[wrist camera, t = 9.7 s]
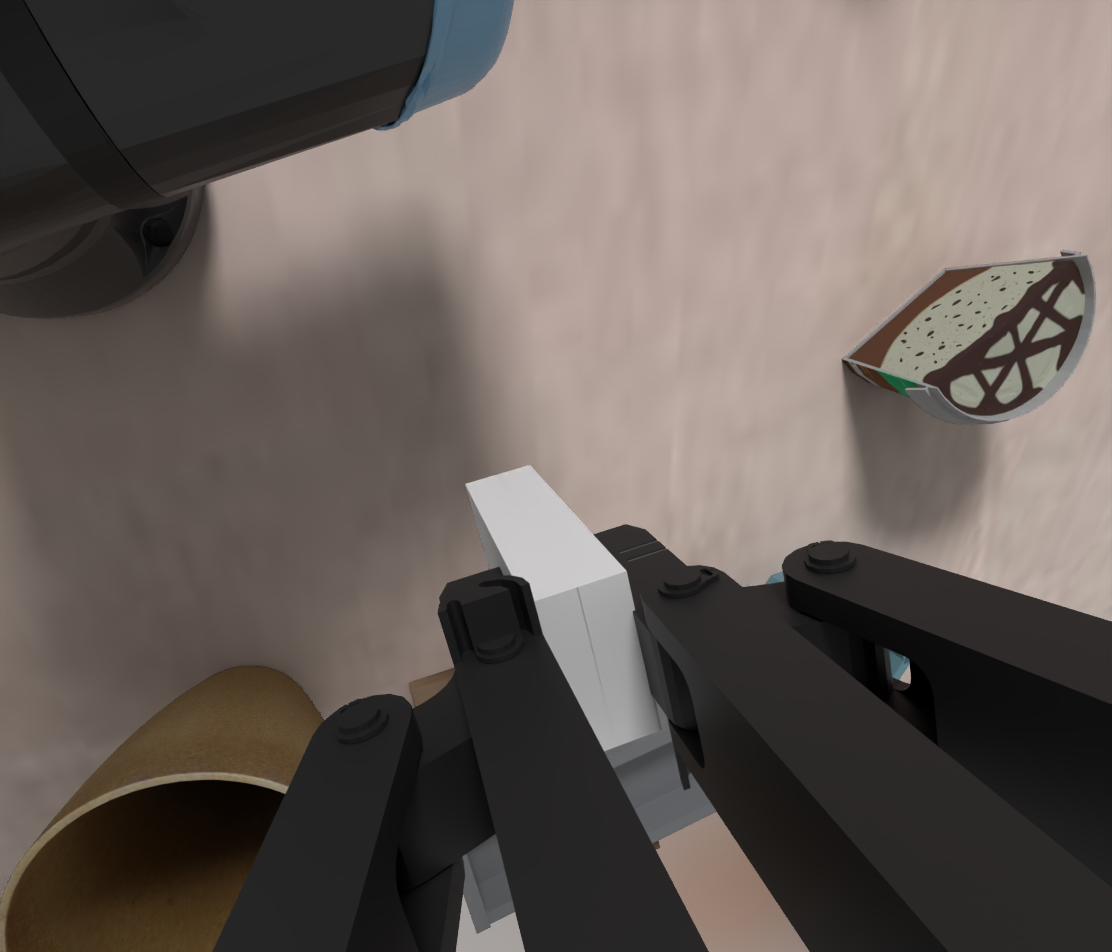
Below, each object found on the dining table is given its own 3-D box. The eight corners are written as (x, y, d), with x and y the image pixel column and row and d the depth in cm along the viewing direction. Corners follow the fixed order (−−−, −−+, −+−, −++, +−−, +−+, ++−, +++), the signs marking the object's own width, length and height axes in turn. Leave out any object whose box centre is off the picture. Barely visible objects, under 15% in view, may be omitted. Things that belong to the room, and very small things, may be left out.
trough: (455, 868, 46) (477, 933, 41) (400, 705, 43) (416, 755, 38) (761, 724, 52) (810, 767, 47) (734, 570, 48) (784, 600, 44)
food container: (868, 440, 53) (977, 474, 44) (825, 373, 51) (929, 394, 42) (998, 325, 54) (1133, 334, 44) (960, 254, 51) (1094, 248, 42)
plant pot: (78, 649, 44) (-70, 842, 29) (339, 583, 47) (328, 728, 32) (159, 855, 48) (68, 1118, 33) (394, 784, 51) (408, 996, 36)
